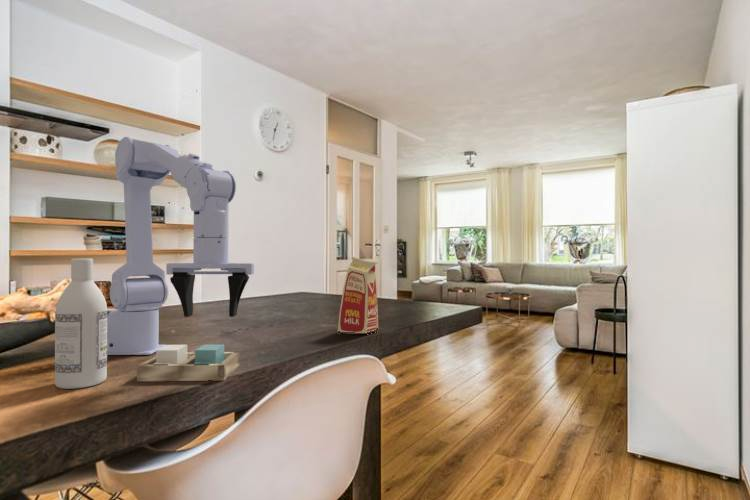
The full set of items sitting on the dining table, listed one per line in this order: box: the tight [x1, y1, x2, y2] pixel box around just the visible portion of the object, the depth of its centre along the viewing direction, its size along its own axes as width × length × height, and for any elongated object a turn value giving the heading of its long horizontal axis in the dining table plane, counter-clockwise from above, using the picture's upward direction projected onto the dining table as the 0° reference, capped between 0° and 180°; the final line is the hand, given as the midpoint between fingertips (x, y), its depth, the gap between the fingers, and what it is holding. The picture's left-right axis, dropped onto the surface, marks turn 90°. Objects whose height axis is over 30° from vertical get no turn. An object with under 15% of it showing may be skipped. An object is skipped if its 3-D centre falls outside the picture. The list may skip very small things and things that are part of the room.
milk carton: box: [337, 256, 379, 333], centre depth 117 cm, size 9×9×20 cm
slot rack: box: [136, 351, 240, 382], centre depth 77 cm, size 14×10×3 cm
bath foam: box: [54, 257, 108, 390], centre depth 71 cm, size 7×7×20 cm
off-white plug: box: [155, 344, 188, 364], centre depth 77 cm, size 6×4×4 cm, turn 2°
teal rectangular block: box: [194, 344, 225, 364], centre depth 77 cm, size 6×4×4 cm, turn 1°
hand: (210, 316), depth 77 cm, fingers open, 7 cm apart
